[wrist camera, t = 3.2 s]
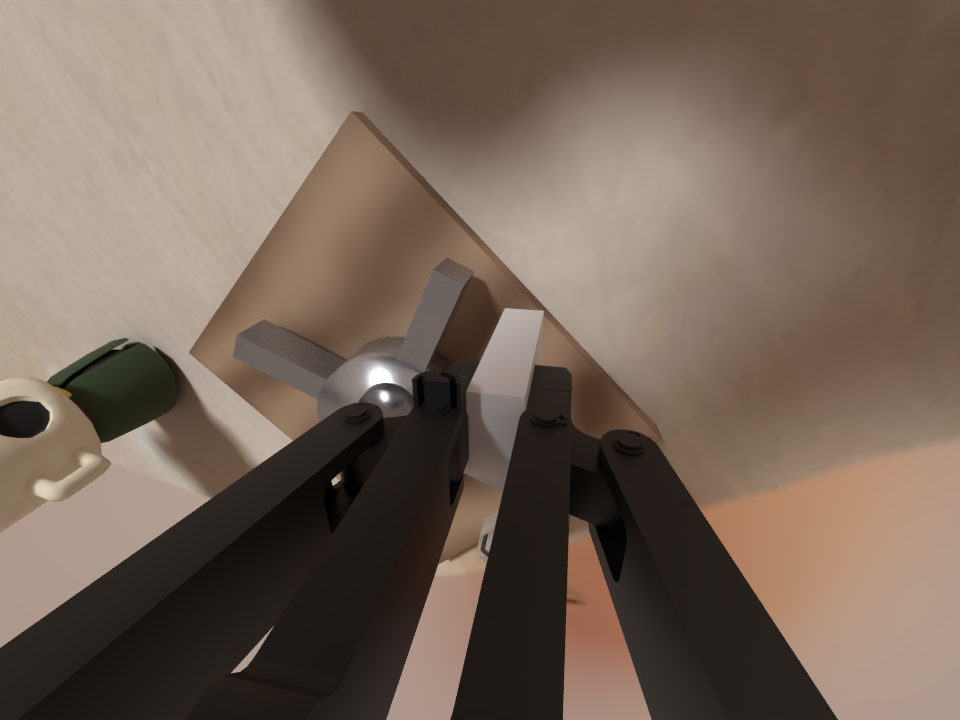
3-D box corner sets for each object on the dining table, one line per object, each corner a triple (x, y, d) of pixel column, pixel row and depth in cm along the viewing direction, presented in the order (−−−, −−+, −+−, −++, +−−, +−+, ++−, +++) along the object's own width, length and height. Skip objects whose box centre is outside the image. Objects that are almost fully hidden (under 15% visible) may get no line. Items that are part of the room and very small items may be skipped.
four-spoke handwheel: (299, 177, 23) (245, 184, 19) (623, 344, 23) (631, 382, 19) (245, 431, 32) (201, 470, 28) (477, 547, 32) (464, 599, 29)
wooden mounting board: (201, 345, 31) (150, 373, 27) (362, 112, 22) (318, 107, 18) (443, 551, 36) (427, 599, 32) (657, 427, 27) (670, 474, 23)
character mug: (209, 352, 31) (-3, 475, 20) (217, 430, 35) (40, 572, 23) (74, 311, 32) (-204, 406, 21) (95, 390, 35) (-134, 510, 24)
